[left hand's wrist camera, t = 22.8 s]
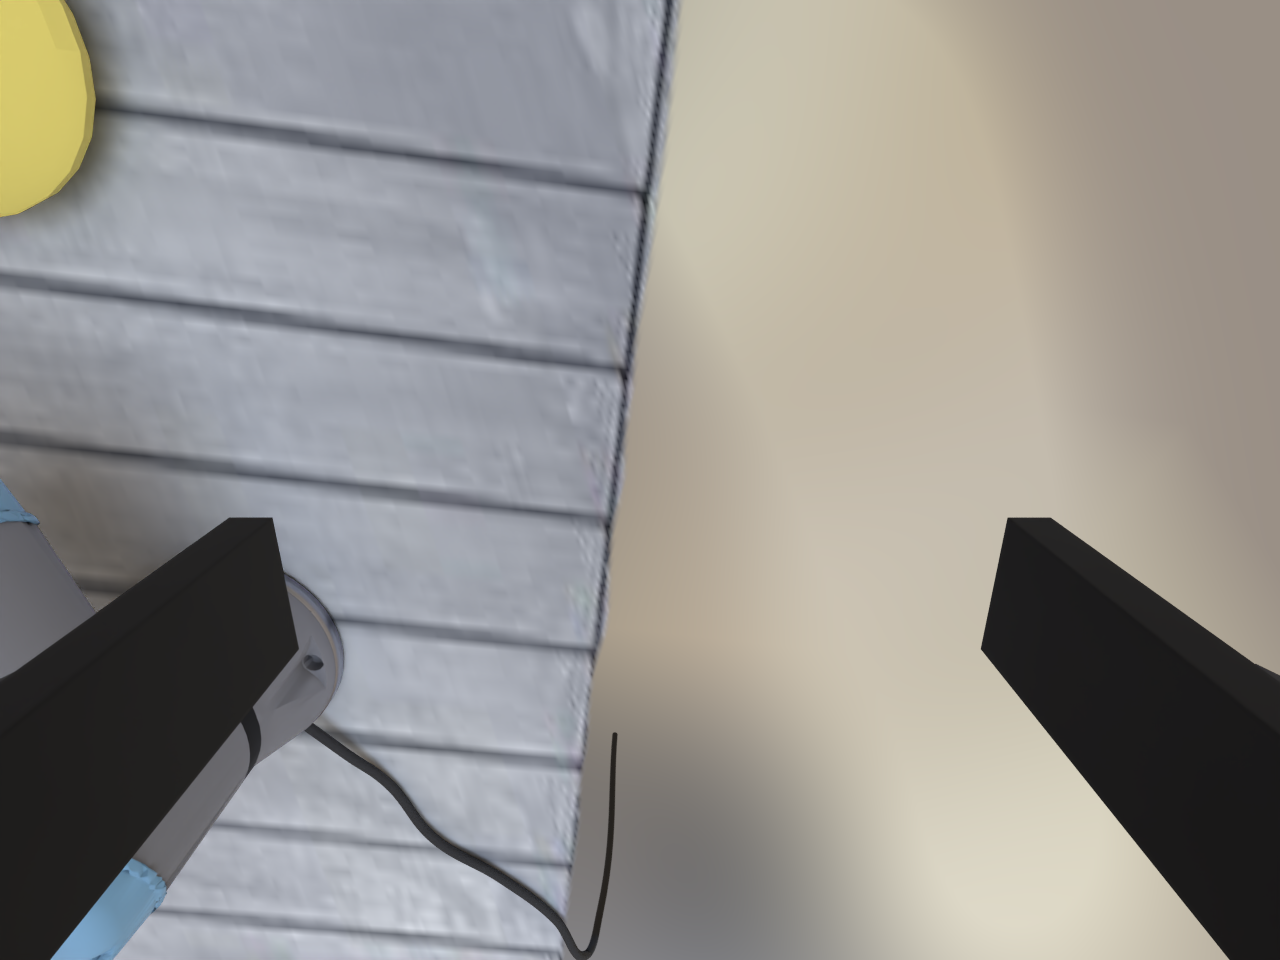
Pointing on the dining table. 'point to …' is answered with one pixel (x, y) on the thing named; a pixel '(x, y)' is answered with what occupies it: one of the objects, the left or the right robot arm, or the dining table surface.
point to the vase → (41, 101)
